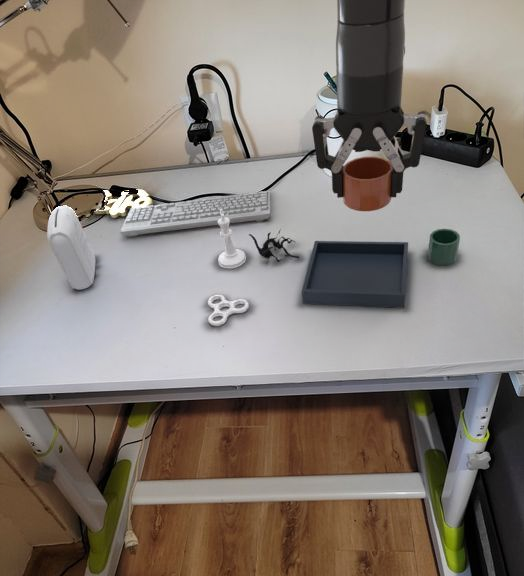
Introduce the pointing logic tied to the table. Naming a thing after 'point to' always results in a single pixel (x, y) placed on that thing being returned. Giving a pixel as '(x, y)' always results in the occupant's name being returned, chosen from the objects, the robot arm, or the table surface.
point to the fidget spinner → (227, 312)
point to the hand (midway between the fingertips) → (367, 194)
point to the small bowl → (443, 247)
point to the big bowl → (367, 183)
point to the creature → (266, 250)
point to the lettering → (124, 203)
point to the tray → (357, 274)
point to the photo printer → (71, 247)
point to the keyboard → (197, 213)
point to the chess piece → (229, 246)
